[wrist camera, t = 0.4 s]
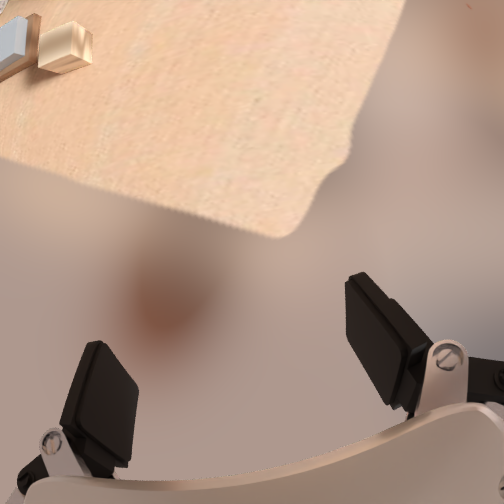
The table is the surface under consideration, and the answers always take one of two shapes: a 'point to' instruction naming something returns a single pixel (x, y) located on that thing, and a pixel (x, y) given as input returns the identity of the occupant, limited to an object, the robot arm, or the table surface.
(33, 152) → the table surface
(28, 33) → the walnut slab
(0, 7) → the skincare box
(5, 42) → the grey slab
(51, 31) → the beech block
